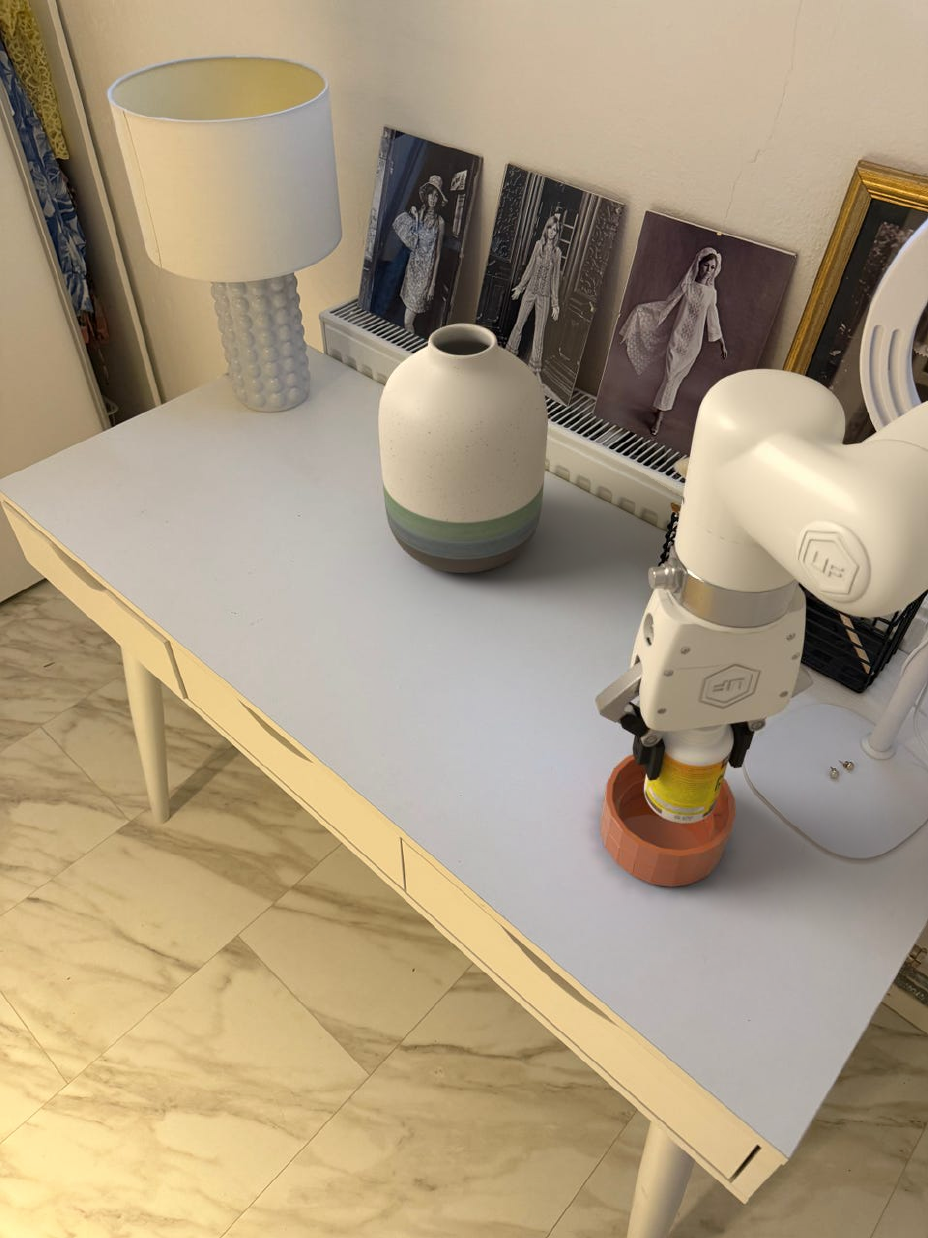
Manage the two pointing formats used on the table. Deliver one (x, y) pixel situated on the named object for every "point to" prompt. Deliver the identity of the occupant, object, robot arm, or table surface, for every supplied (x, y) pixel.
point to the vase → (463, 451)
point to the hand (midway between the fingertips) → (688, 757)
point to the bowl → (660, 832)
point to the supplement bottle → (690, 773)
